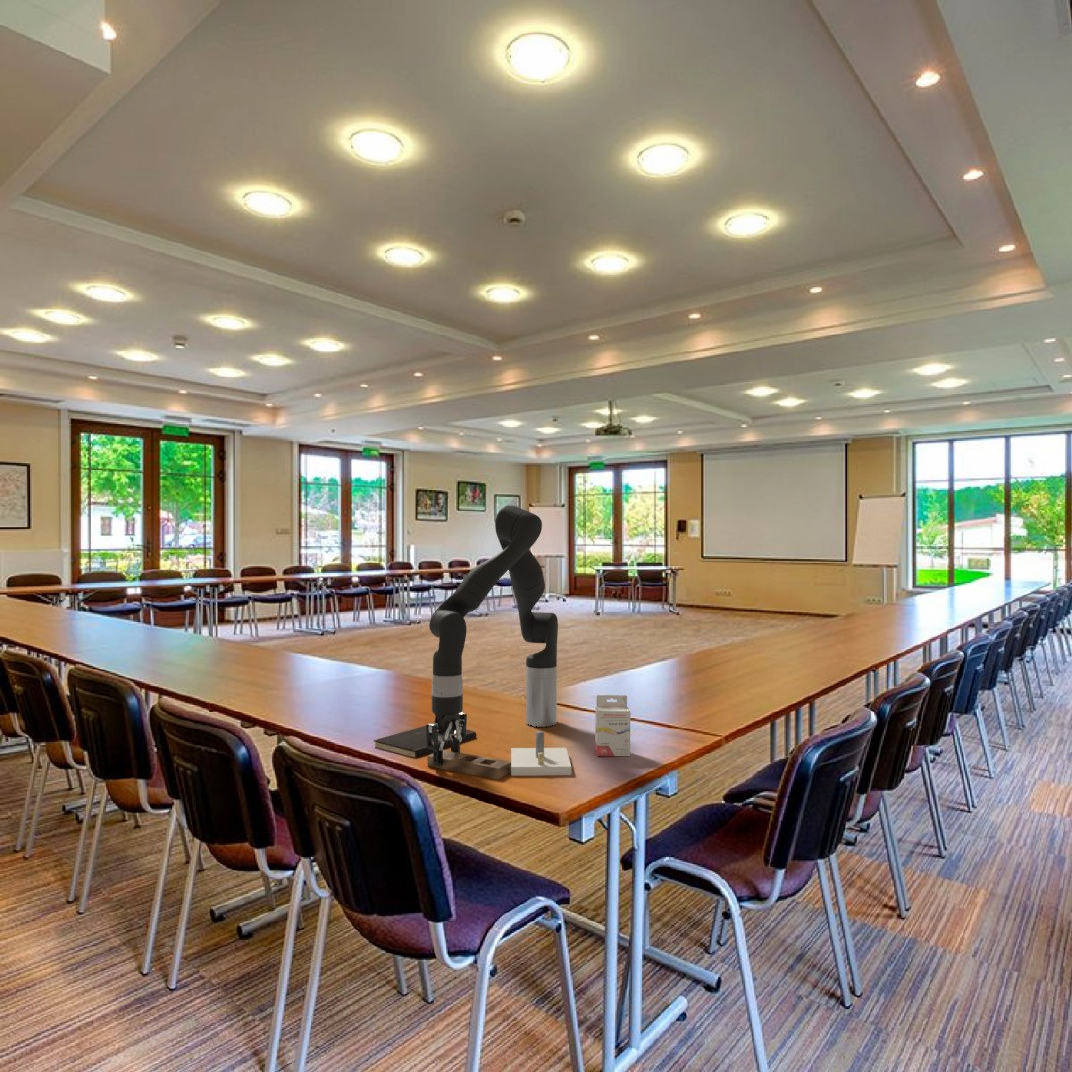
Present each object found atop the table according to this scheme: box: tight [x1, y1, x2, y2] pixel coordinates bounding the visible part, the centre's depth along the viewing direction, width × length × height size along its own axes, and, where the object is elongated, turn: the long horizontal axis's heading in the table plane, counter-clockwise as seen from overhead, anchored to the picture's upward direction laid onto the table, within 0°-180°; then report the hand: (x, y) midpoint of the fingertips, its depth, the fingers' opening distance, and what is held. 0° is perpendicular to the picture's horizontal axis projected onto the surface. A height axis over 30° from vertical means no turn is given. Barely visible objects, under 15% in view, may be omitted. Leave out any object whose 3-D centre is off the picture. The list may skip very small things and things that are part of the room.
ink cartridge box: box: [594, 694, 631, 757], centre depth 178 cm, size 9×5×15 cm, turn 92°
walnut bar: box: [427, 749, 511, 780], centre depth 166 cm, size 20×6×2 cm, turn 62°
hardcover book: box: [373, 725, 477, 759], centre depth 188 cm, size 16×23×2 cm
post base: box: [510, 730, 572, 777], centre depth 169 cm, size 15×14×8 cm
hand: (446, 761), depth 169 cm, fingers open, 6 cm apart
